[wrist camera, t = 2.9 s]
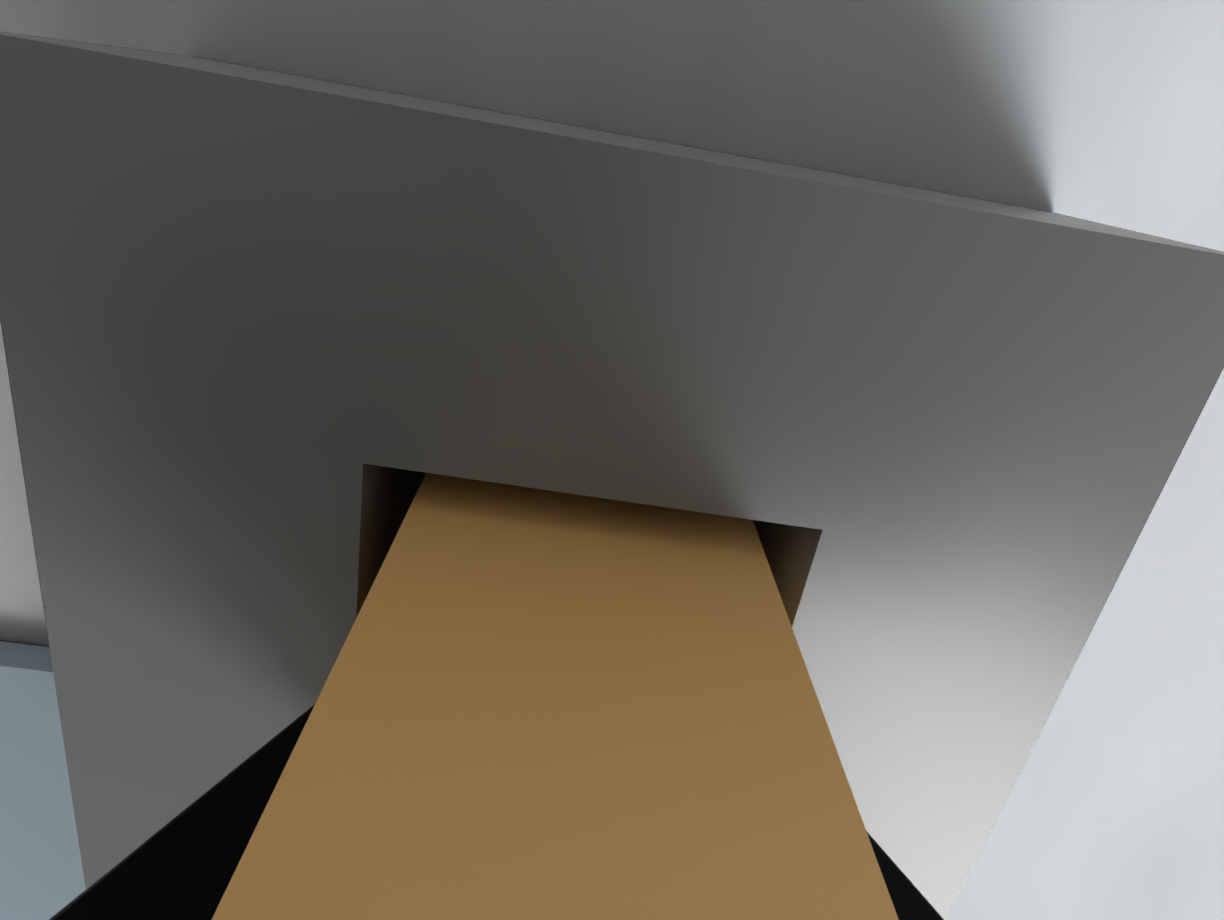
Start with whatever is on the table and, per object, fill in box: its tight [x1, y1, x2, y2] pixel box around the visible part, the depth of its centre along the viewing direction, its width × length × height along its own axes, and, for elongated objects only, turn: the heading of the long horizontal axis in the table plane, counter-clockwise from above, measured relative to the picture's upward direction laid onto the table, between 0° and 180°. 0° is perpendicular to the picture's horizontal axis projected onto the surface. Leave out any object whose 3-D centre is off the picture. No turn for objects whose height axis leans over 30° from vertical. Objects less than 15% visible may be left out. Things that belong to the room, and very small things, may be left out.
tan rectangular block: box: [212, 473, 899, 920], centre depth 8 cm, size 4×4×11 cm
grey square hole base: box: [0, 32, 1224, 920], centre depth 11 cm, size 12×12×4 cm
